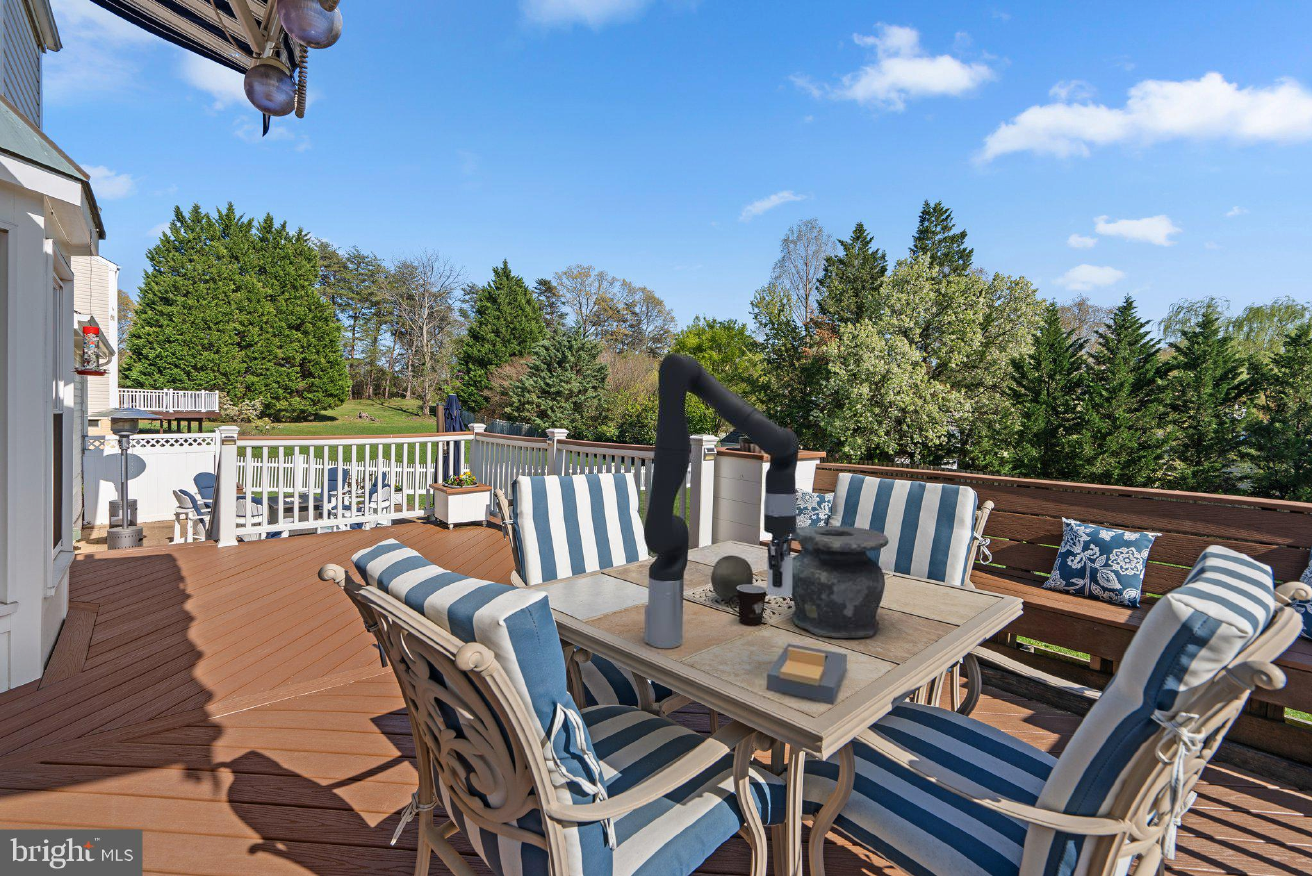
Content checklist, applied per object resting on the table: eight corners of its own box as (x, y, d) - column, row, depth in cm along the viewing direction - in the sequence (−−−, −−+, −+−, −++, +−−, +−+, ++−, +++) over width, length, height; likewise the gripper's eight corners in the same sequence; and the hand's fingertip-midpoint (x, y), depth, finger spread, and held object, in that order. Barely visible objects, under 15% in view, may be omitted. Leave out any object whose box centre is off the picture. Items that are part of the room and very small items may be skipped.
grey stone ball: (701, 598, 192) (702, 553, 192) (737, 594, 198) (738, 550, 198) (724, 610, 180) (725, 562, 179) (762, 605, 186) (763, 559, 185)
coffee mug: (762, 617, 174) (763, 584, 174) (768, 627, 165) (769, 593, 165) (723, 617, 174) (724, 584, 173) (728, 627, 165) (729, 592, 165)
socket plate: (766, 689, 126) (767, 673, 126) (787, 657, 144) (788, 643, 144) (833, 704, 120) (833, 687, 120) (846, 668, 138) (847, 654, 138)
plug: (767, 594, 137) (767, 556, 137) (771, 590, 140) (771, 553, 140) (788, 597, 134) (788, 558, 134) (792, 593, 138) (792, 555, 138)
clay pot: (899, 613, 176) (898, 518, 172) (875, 660, 151) (874, 550, 147) (805, 597, 192) (802, 509, 188) (770, 636, 167) (766, 537, 163)
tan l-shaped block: (779, 677, 124) (780, 659, 124) (788, 664, 131) (788, 647, 131) (818, 685, 120) (818, 667, 120) (824, 671, 128) (825, 653, 127)
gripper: (772, 508, 145) (772, 576, 145) (756, 515, 132) (755, 590, 133) (802, 509, 142) (802, 579, 142) (788, 517, 129) (788, 594, 129)
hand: (779, 584), depth 137 cm, fingers closed on plug, 4 cm apart
